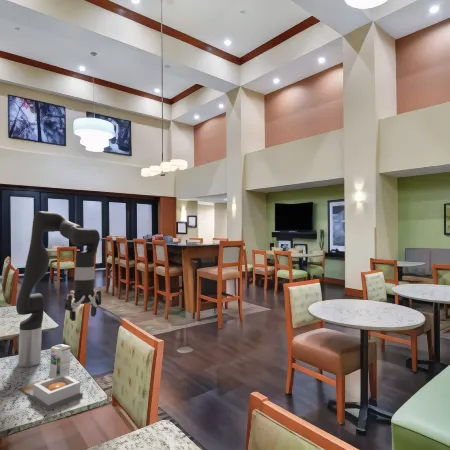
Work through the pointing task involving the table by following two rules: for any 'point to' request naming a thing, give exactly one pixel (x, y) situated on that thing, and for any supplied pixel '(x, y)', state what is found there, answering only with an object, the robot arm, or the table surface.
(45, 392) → the panel
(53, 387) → the button
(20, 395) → the table surface
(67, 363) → the syrup box
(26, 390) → the rest mat
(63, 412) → the table surface
